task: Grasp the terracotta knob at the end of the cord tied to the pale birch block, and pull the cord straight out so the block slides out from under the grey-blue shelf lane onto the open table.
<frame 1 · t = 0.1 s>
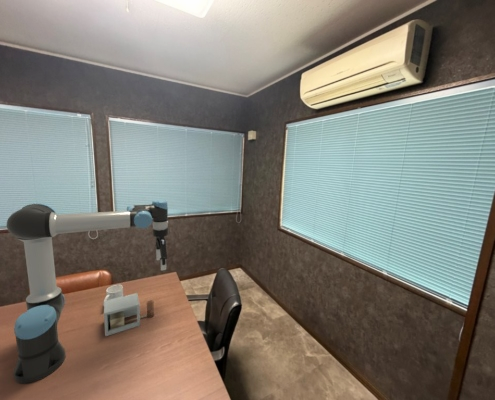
hand: (161, 264, 121), 28 cm above the table, fingers open, 13 cm apart
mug: (112, 306, 126), on the table
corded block: (117, 325, 112), on the table
shelf lane: (124, 323, 113), on the table
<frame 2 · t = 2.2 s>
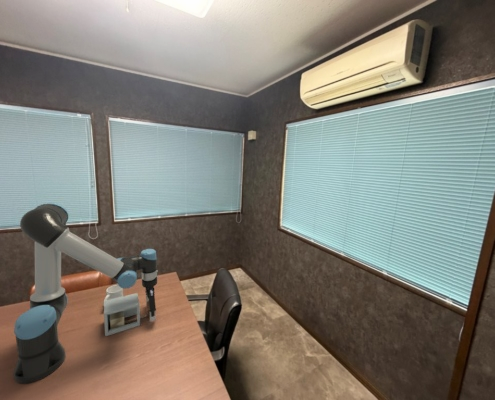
hand: (150, 312, 120), 1 cm above the table, fingers open, 13 cm apart
nothing on the table moved.
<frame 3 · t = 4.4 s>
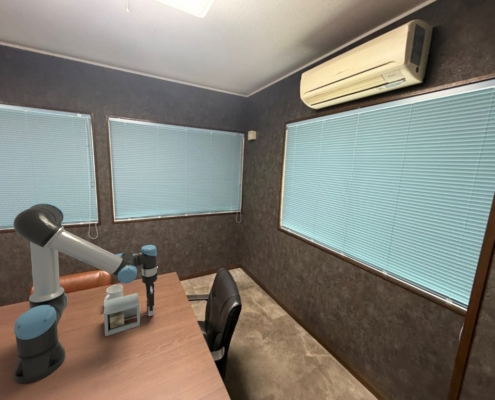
hand: (150, 312, 120), 2 cm above the table, fingers closed on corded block, 3 cm apart
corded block: (117, 323, 112), point 1 cm above the table, touching gripper
everything else where it was.
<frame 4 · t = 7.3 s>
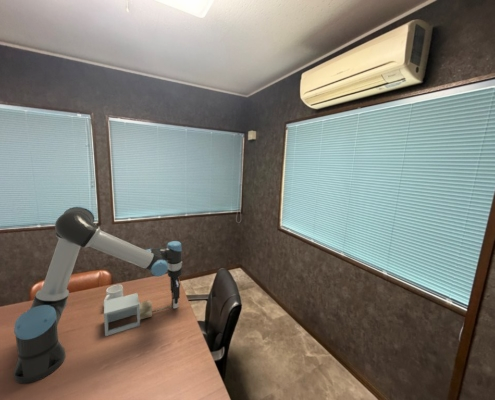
hand: (174, 305, 127), 2 cm above the table, fingers closed on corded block, 3 cm apart
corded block: (145, 314, 119), point 1 cm above the table, touching gripper
everything else where it was.
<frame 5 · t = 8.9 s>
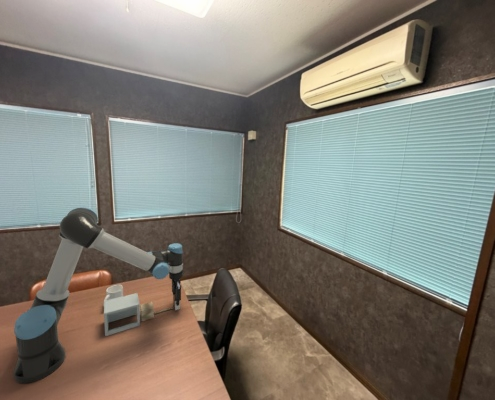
hand: (176, 307, 128), 0 cm above the table, fingers closed on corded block, 3 cm apart
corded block: (147, 316, 119), on the table, touching gripper
everything else where it was.
when the fingers open (0 cm above the table, at t = 10.2 s): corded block stays where it is, on the table.
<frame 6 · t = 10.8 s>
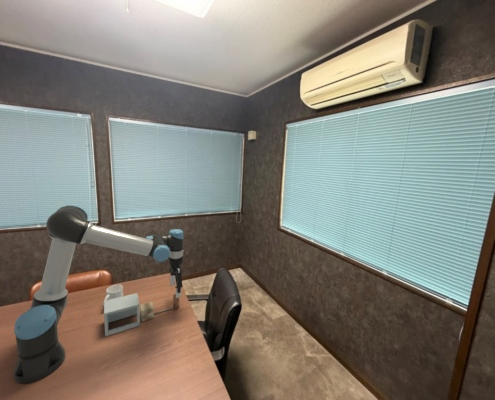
hand: (175, 291, 125), 11 cm above the table, fingers open, 13 cm apart
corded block: (147, 316, 119), on the table
everything else where it was.
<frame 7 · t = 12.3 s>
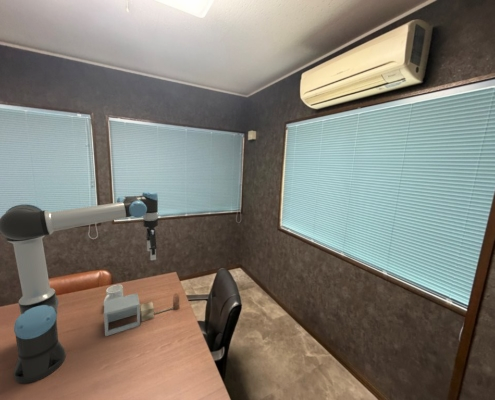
hand: (151, 255, 124), 32 cm above the table, fingers open, 13 cm apart
nothing on the table moved.
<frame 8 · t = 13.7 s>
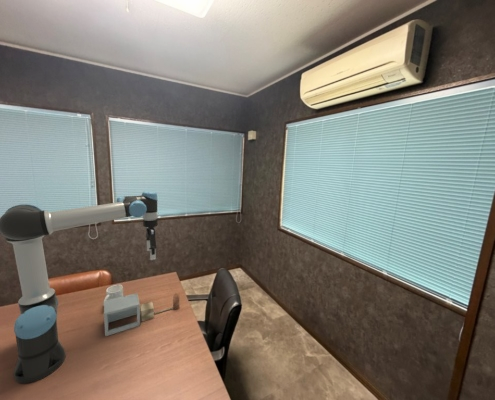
hand: (151, 254, 124), 32 cm above the table, fingers open, 13 cm apart
nothing on the table moved.
at the end: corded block inside the target area (8.4 cm from its centre), on the table; the gripper is holding nothing; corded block tilted 0° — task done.
